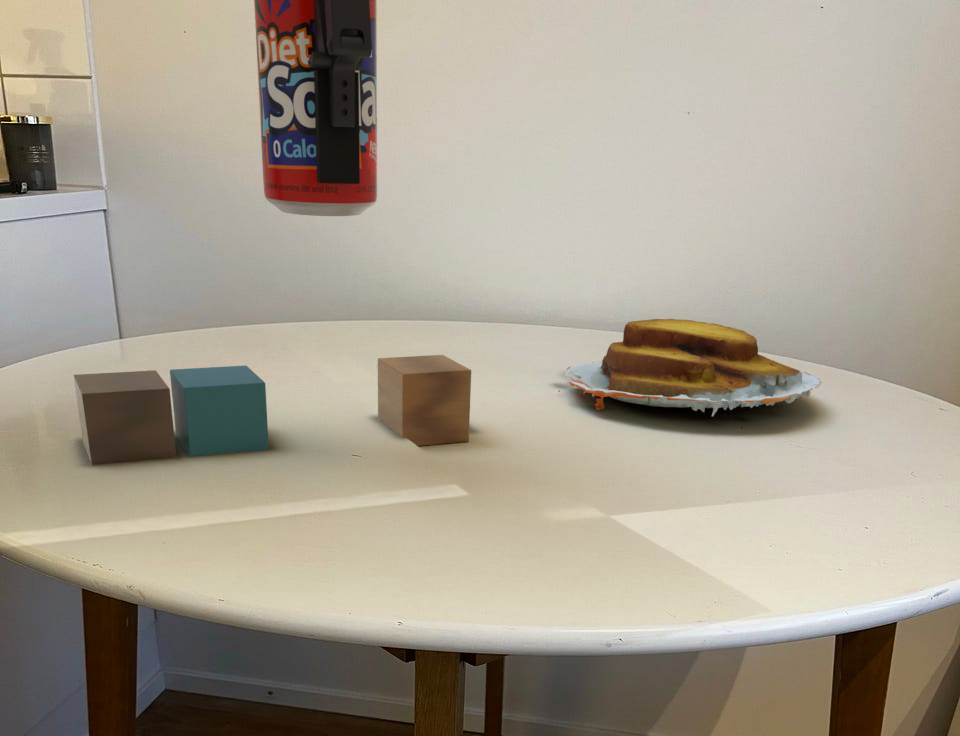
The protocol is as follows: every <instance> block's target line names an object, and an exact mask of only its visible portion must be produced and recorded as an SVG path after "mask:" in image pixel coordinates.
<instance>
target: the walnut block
mask: <svg viewBox="0 0 960 736" xmlns="http://www.w3.org/2000/svg"><path fill="white" fill-rule="evenodd" d="M73 381H74V388H75V395H76V403H77V409H78V417H79V424H80V430H81V431H80V432H81V438H82V444H83V446H84V448H85V452H86V454H87V457H88V459H89V462H90V464H91V466H99V465H110V464H120V463H121V464H123V463H133V462H143V461H156V460H166V459H167V460H168V459H177V448H176V438H175V429H174V428H175V427H174V418H173V409H172V408H173V407H172V399H171V398H172V397H171V388H170V387H169V386H168V384H166V382H165V380H164V379H163V378H162V376H161V375H160V374H159V373H158V371H157V370H155V369H154V370H136V371H134V370H133V371H117V372H100V373H81V374H80V373H79V374H73Z"/></svg>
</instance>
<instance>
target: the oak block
mask: <svg viewBox="0 0 960 736" xmlns="http://www.w3.org/2000/svg"><path fill="white" fill-rule="evenodd" d="M471 389H472V369H470V368H468V367H467V366H465V365H463V364H461V363H459V362H457V361H455V360H453V359H452V358H450V357H448V356H446V355H444V354H431V355H414V356H397V357H396V356H395V357H393V356H392V357H378V358H377V420H378V421H379V422H381V423H382V424H384V425H385V426H386V427H388V428H389V429H390V430H391V431H393V433H395V434H397V435H398V436H399V437H400V438H402V439H407V440H409V442H411V443H412V444H414V445H415V446H417V447H424V446H433V445H435V446H436V445H444V444H445V445H446V444H457V443H467V442H469V440H470V419H471V418H470V417H471V416H470V414H471V395H472V394H471V392H472V391H471Z"/></svg>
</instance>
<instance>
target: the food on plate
mask: <svg viewBox="0 0 960 736" xmlns="http://www.w3.org/2000/svg"><path fill="white" fill-rule="evenodd" d="M563 374H564V375H565V377H566V378H567V380H569V381H568V382H567V384H569V385H570V386H572V387H576V388H578V389H579V391H583V394H586V393H588V394H592V398H594V397H595V396H596V397H600V398H595V400H596V403H595V404H594V406H595V409H596V410H598V411H600V410H603V409H605V406H604V405H605V404H604V398H605V397H607V398H611V399H614V400H617V401H620V402H623V403H629V404H636V405H644V406H650V407H653V408H655V407H660V408H690V409H692V410H693V411H694V412H698V410H700V411H701V412H702V413H705V409H712V412H711V417H714V416H715V414H717V411H718V409H723V410H724V411H726V410H727V409H728V408H729V410H730V411H732V410H733V409H735V408H737V407H741V408H744V407H745V408H746V407H749V408H750V409H752V408H753V407H754V406H755V408H756V407H757V408H758V407H759V406H762V405H765V406H771V407H774V405H775V404H776V403H780V402H785V403H787V404H792V403H794V402H795V400H796V399H797V400H799V399H801V398H802V397H805V398H809V397H810V396H811V391H813V390H814V389H818V388H819V387H820V386H821V383H822V381H821V380H820V378H819V377H817V376H816V375H815V374H813V375H812V374H810V373H807V372H805V371H802V370H799V369H797V368H794V367H791V366H788V365H785V364H783V363H780V362H778V361H776V360H772V359H770V358H768V357H765V356H764V355H761V354H759V347H758V341H757V338H756V337H755V336H754V335H752V334H750V333H748V332H747V331H745V330H743V329H740V328H739V329H738V328H735V327H731V326H726V325H722V324H718V323H713V322H711V323H709V322H705V321H697V320H692V319H677V318H676V319H675V318H652V319H642V320H634V321H633V320H632V321H629V322H626V324H625V325H624V328H623V337H622V341H618V342H612V343H611V344H609V346H608V348H607V351H606V354H605V355H604V356H603V358H602V360H597V361H593V362H586V363H581V364H577V365H574V366H568V367H567V368H566V369H565V372H564V373H563ZM574 374H575V375H576V376H575V375H574ZM577 376H578V377H577ZM579 376H580V378H579ZM557 392H559V393H560V392H561V389H559V390H558V391H557ZM741 429H743V426H741Z"/></svg>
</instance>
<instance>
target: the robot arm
mask: <svg viewBox="0 0 960 736" xmlns="http://www.w3.org/2000/svg"><path fill="white" fill-rule="evenodd" d="M314 24H315V31H316V39H317V46H318V52H312V54H311V56H310V58H309V60H308V65H309V67H310V68H325V69H327V70H314V89H315V125H316V161H317V183H331V184H360V161H359V72H355V70H357V71H359V70H360V69H361V66H362V61H363V58H369V57H370V55H371V52H372V43H371V26H370V7H369V0H314Z"/></svg>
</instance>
